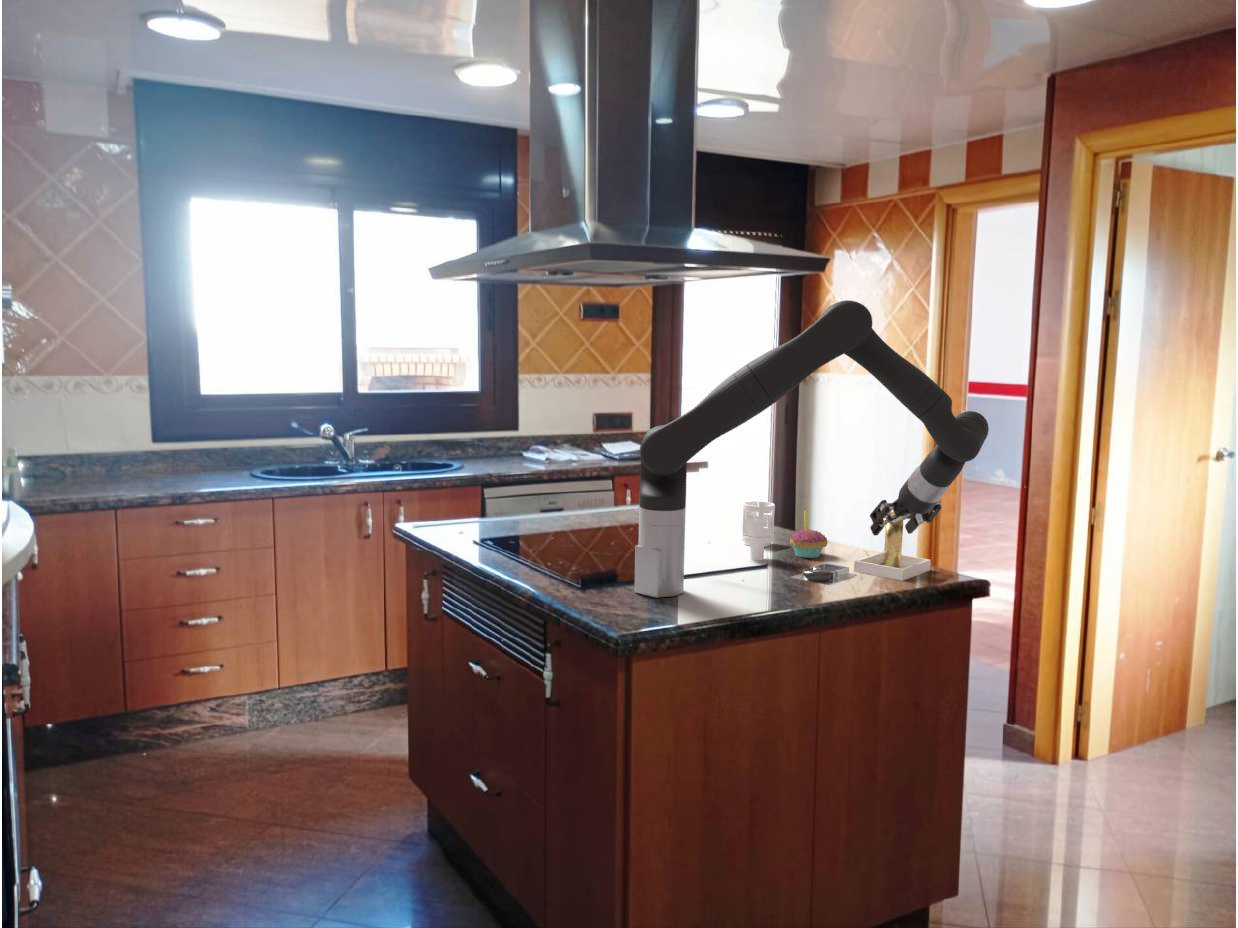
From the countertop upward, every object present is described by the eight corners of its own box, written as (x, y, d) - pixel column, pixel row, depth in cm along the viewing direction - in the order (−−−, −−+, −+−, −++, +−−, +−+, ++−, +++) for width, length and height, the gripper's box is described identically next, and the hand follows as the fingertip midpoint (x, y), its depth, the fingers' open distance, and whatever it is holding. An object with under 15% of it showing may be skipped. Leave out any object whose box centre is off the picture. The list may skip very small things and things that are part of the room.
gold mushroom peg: (896, 576, 210) (899, 516, 208) (876, 572, 213) (880, 513, 211) (906, 572, 213) (909, 513, 211) (887, 569, 216) (890, 510, 214)
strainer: (743, 567, 219) (745, 501, 217) (738, 560, 226) (740, 495, 224) (775, 567, 219) (777, 501, 217) (769, 560, 226) (771, 496, 224)
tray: (902, 586, 205) (902, 569, 204) (853, 576, 212) (854, 560, 212) (929, 575, 214) (930, 559, 214) (882, 566, 222) (883, 551, 221)
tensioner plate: (827, 590, 200) (828, 574, 200) (789, 582, 206) (790, 566, 206) (856, 580, 209) (857, 564, 208) (819, 572, 215) (820, 557, 214)
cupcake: (782, 557, 230) (784, 506, 228) (813, 554, 233) (815, 504, 231) (801, 565, 222) (803, 513, 220) (833, 563, 225) (836, 511, 223)
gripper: (947, 471, 205) (912, 515, 218) (888, 473, 201) (855, 518, 213) (962, 500, 201) (925, 543, 213) (902, 503, 197) (868, 547, 209)
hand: (890, 531), depth 213 cm, fingers open, 8 cm apart
